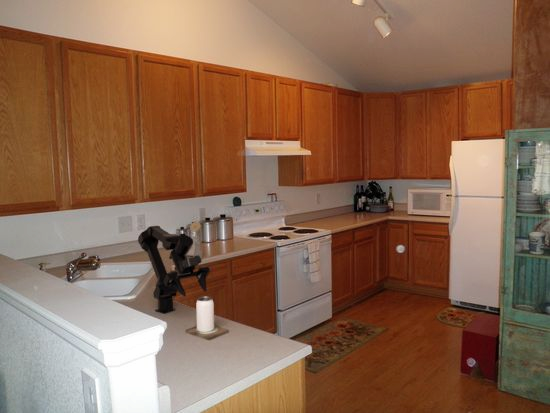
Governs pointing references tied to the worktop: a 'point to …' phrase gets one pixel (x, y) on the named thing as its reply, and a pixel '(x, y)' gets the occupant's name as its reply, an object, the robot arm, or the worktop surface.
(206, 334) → the coaster board
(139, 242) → the robot arm
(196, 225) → the flower in vase
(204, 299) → the can
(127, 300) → the worktop surface
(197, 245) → the salt shaker
